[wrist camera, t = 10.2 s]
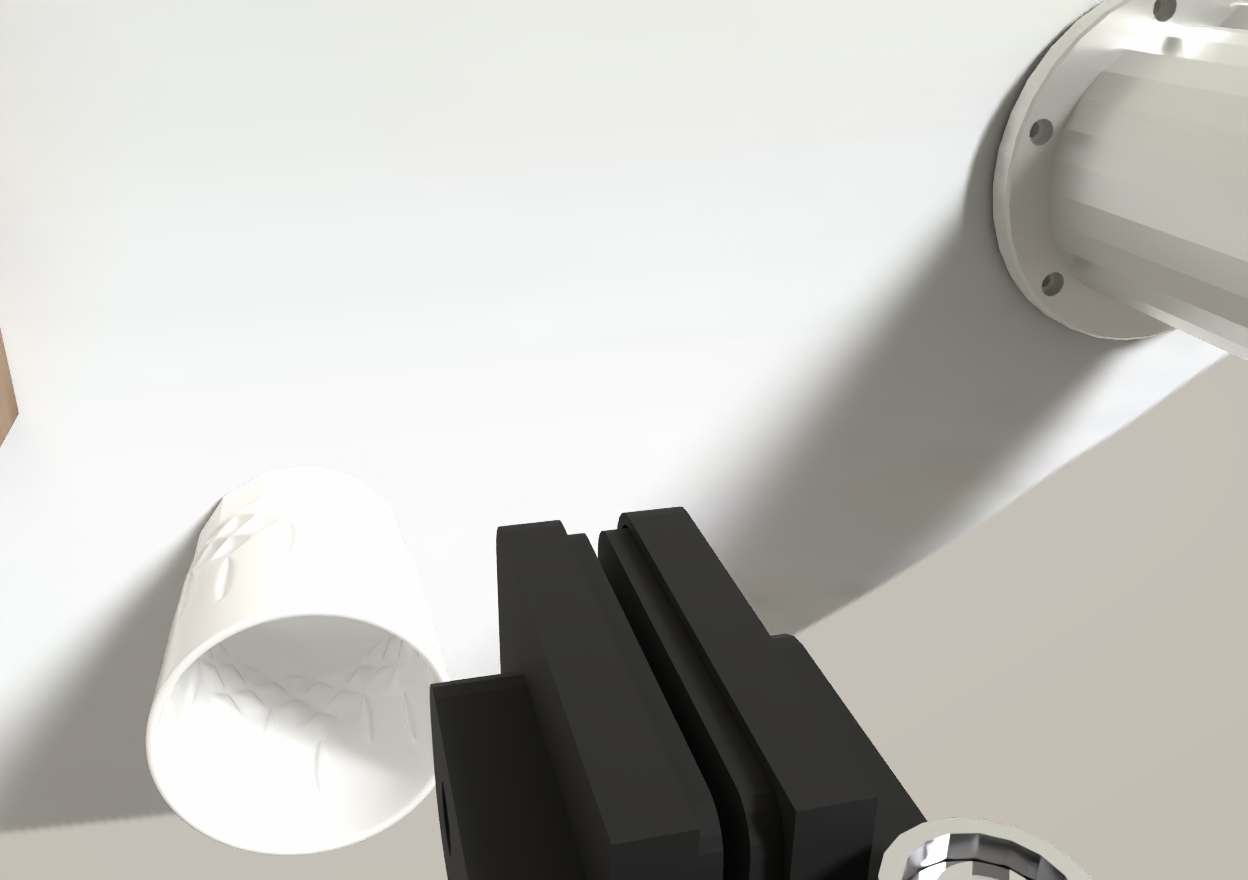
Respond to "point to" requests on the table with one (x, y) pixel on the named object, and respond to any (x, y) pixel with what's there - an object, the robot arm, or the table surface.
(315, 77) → the table surface
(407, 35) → the table surface
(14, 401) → the button board
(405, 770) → the white cup
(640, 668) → the robot arm
